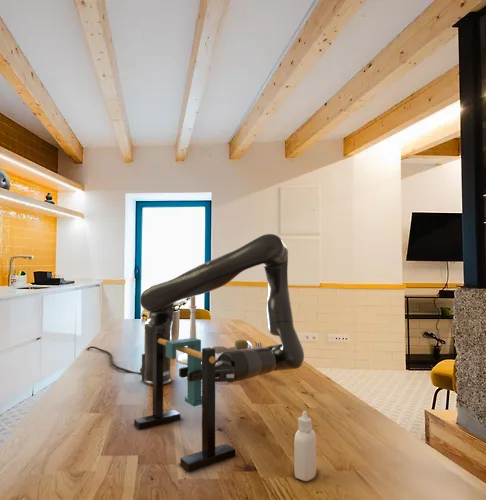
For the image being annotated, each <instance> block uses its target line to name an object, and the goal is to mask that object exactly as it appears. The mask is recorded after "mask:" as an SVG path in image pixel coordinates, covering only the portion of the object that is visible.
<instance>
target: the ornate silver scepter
mask: <svg viewBox="0 0 486 500" xmlns="http://www.w3.org/2000/svg"><path fill="white" fill-rule="evenodd" d="M246 341H247V343H248V347H247V349H253V348H260V347H263V346H262V342H255V347H254V345H253V344H252V342H251V341H249V340H246ZM273 345H274V344H273ZM273 345H272V344H271V345H270V346H273ZM212 348H213V349H215V354H218V355H221V354H222V353H223V352H227V351H234V350H236V348H235V346H231V347H225V346H222V345H221V346H220V345H216V346H213V347H212Z"/></svg>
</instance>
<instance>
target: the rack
mask: <svg viewBox="0 0 486 500" xmlns="http://www.w3.org/2000/svg"><path fill="white" fill-rule="evenodd" d="M166 341H168V340H165V339H163V332H160V331H159V332H153V385H152V414H151V415H146V416H143V417H138V418H134V419H133V425H134V427H135V428H136V429H138V430H139V431H140V430H143V429H147V428H151V427H155V426H159V425H163V424H164V425H165V424H168V423H172V422H175V421H180V420H181V413H180V412H179V411H177V410H175V409H172V410H169V411H168V410H167V411H164V385H163V345H165V346H166ZM176 351H178V352H180V353H183V354H188V355H191V356H194V357H196V358H199V359H202V380H201V396H202V405H201V451H198V452H194V453H192V454H188V455H185V456H182V457H180V459H179V461H180V464H179V465H180V467H182V468H183V469H184V470H185V471H186V472H188V473H191V472H193V471H197V470H200V469H203V468H205V467H208V466H211V465H214V464H217V463H220V462H223V461H226V460H229V459H232V458H235V457H236V454H237V453H236V452H237V451H236V448H235V447H234V446H232V445H230V444H228V443H224V444H221V445H218V446H216V382H215V359H216V353H215V349H213V347H201V352H199V351H196V350H193V349H190V348H188V347H187V346H183V347H176Z"/></svg>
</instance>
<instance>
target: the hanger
mask: <svg viewBox="0 0 486 500" xmlns="http://www.w3.org/2000/svg"><path fill="white" fill-rule="evenodd" d="M183 346H185V347H188V348H190V349H193V350H196V351H199V352H202V340H201V339H199V338H197V337H196V338H182V339H174V340H171V341H166V357H168V358H171V360H176V359H177V350H176V347H183ZM186 367H187V373H188V372H189V371H194V370H200V369H201V359H199V358H196V357H194V356H191V355H188V354H187V364H186ZM184 402H185V403H187V404H189V405H190V406H192V407H198V406H202V380H197V381H192V382H189V381H188V380H187V396H184Z"/></svg>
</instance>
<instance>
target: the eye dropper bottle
mask: <svg viewBox="0 0 486 500" xmlns="http://www.w3.org/2000/svg"><path fill="white" fill-rule="evenodd" d="M297 420H298V429H297V431H296V432H295V434H294V442H293V444H294V446H293V448H294V449H293V450H294V451H293V453H294V454H293V455H294V456H293V457H294V458H293V459H294V462H293V464H294V468H293V469H294V478H296V479H298V480H300V481H303V482H309V481H311V480H313V479H314V478H315V477H316V475H317V435H316V432H315V431H314V430H313V428H312V426H313V423H312V419H311V417H309V415H308V411H306V410H303V411H302V415H301V416H299V417H298V418H297Z"/></svg>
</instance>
